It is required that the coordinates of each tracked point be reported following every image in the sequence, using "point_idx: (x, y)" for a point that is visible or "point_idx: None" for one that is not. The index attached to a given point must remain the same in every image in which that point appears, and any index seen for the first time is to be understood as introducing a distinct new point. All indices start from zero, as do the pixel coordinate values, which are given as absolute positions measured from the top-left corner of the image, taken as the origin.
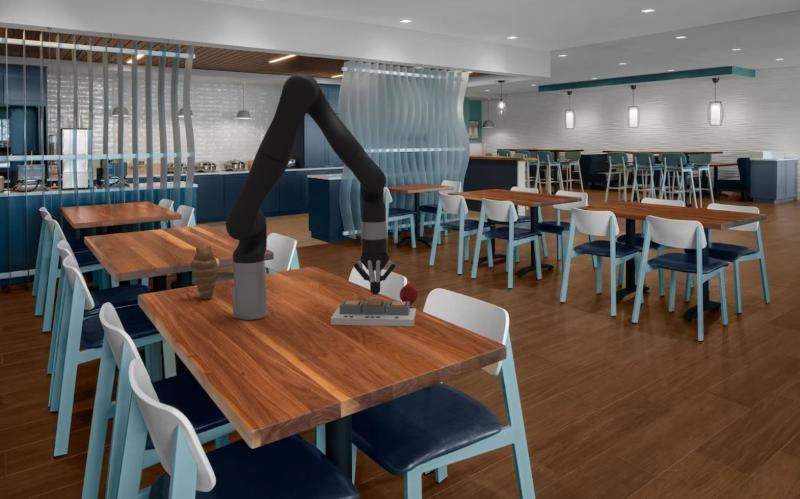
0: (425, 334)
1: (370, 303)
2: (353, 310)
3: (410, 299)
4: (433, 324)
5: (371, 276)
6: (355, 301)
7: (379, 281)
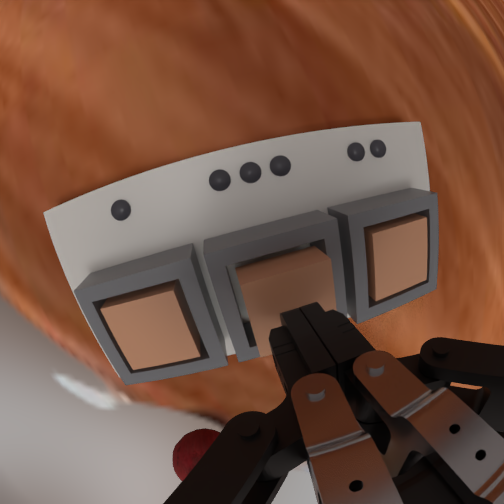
0: (2, 135)
1: (304, 258)
2: (370, 201)
3: (185, 439)
4: (17, 265)
5: (402, 394)
6: (392, 286)
7: (293, 398)
